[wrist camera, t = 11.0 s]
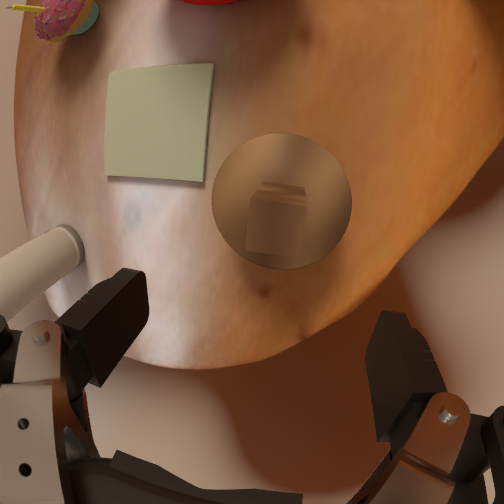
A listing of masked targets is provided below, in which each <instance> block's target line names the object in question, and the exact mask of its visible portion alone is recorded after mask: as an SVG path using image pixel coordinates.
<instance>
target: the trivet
mask: <svg viewBox="0 0 504 504" xmlns="http://www.w3.org/2000/svg"><path fill="white" fill-rule="evenodd" d="M213 72H214V64H213V63H196V64H175V65H161V66H151V67H142V68H133V69H126V70H119V71H113V72H109V80H108V90H107V101H106V116H105V138H104V175H109V176H130V177H147V178H162V179H175V180H187V181H199V182H203V181H204V179H205V163H206V149H207V136H208V123H209V112H210V101H211V91H212V82H213Z"/></svg>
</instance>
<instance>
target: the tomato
mask: <svg viewBox="0 0 504 504" xmlns="http://www.w3.org/2000/svg"><path fill="white" fill-rule="evenodd" d="M180 1H183V2H186V3H191V4H197V5H217V4H225V3H230V2H234V1H239V0H180Z"/></svg>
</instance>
